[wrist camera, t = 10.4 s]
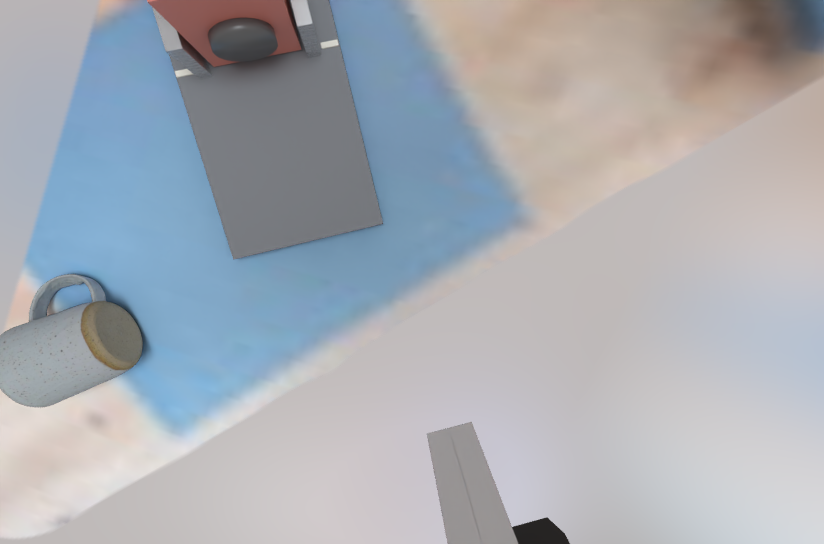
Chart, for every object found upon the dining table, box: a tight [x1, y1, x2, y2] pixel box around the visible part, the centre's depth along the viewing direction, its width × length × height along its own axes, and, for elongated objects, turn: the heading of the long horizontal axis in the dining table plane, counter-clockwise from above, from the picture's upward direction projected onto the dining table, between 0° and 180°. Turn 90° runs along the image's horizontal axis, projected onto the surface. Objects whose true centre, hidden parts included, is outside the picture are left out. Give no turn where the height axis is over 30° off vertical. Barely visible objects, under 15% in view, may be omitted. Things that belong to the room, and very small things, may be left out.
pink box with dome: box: [147, 0, 302, 67], centre depth 30 cm, size 8×6×11 cm
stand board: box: [169, 0, 383, 259], centre depth 37 cm, size 15×26×2 cm, turn 13°
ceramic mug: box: [0, 274, 143, 407], centre depth 35 cm, size 11×8×8 cm
